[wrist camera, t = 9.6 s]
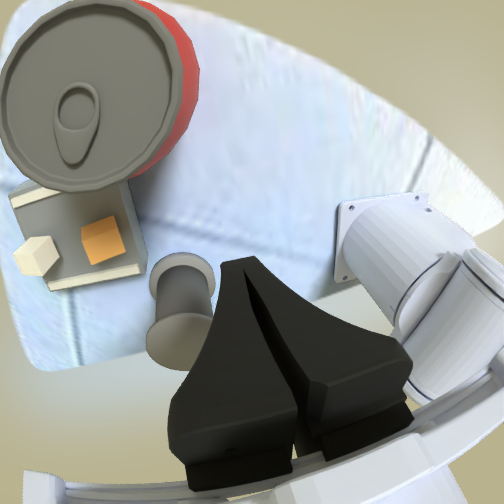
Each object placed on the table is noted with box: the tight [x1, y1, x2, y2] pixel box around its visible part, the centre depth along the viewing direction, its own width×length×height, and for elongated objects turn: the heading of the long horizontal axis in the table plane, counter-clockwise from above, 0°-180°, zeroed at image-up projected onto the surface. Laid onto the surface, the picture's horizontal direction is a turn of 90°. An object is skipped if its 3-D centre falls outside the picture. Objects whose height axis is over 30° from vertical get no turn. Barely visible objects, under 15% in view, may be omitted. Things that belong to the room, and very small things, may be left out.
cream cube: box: [13, 236, 59, 276], centre depth 16 cm, size 2×2×2 cm
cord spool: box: [146, 252, 216, 371], centre depth 21 cm, size 5×5×7 cm
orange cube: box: [81, 215, 126, 265], centre depth 16 cm, size 2×2×2 cm
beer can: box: [0, 0, 200, 194], centre depth 11 cm, size 7×7×12 cm
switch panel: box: [8, 179, 148, 292], centre depth 18 cm, size 8×8×3 cm
